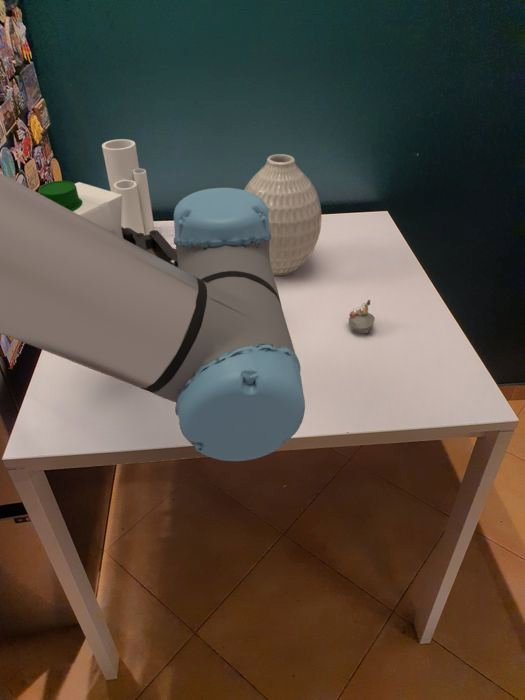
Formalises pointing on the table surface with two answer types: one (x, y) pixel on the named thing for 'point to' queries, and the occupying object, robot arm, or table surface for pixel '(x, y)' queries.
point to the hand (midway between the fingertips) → (72, 238)
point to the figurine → (361, 319)
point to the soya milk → (87, 203)
